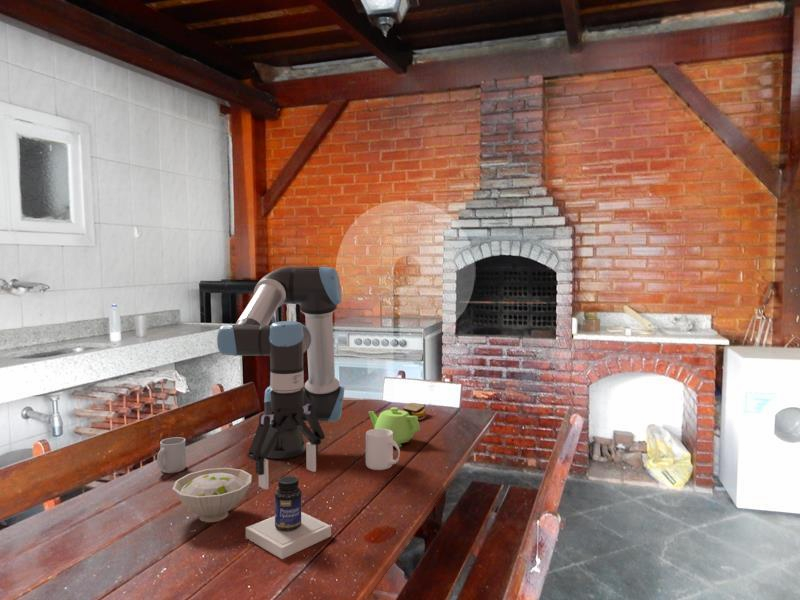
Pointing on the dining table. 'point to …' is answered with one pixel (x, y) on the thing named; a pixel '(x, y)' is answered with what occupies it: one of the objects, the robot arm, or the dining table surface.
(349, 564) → the dining table surface
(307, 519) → the square plate
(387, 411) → the teapot
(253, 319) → the robot arm
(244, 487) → the bowl
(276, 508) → the pill bottle
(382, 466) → the mug
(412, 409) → the toy sandwich meal
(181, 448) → the cup
